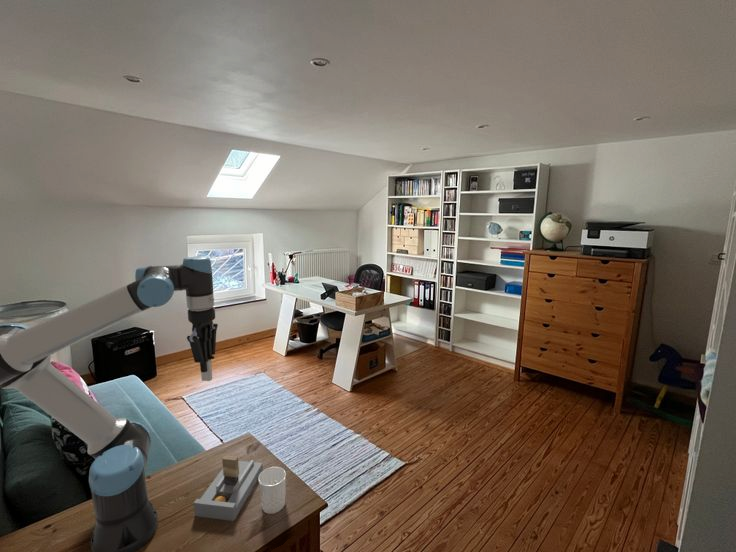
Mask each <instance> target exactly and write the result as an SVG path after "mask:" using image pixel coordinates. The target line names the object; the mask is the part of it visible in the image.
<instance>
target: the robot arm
mask: <svg viewBox="0 0 736 552" xmlns="http://www.w3.org/2000/svg"><path fill="white" fill-rule="evenodd" d="M212 269H213V268H212V262H211V259H210V258H209V257H208V256H201V255H200V256H198V255H197V256H188V257H185V258H183V259H182V264H176V265H160V266H159V265H155V266H154V265H153V266H152V265H148V266H143V267H137V268H136V270H135V275H134V276H135V277H134V278H135V279H134V280H135V281H133V282H131V283H128V284H126V285H124V286H121V287H120V288H119V287H118V288H117V289H115V290H113V291H111V292H109V293H106V294H103V295H102V296H98V297H97V298H94V299H93V300H91V301H88V302H86V303H83V304H80V305H79V306H77V307H74V308H72V309H70V310H67V311H66V312H63V313H60V314H58V315H56V316H54V317H51V318H49V319H47V320H45V321H43V322H41V323H38V324H35V325H34V326H31V327H30V326H28V325H27V324H22V323H17V322H16V323H15V322H11V323H10V322H8V323H1V324H0V388H1V389H3V390H7V389H15V390H16V391H18V392H19V393H20V394H21V395H23V396H24V397H25V398H27V399H28V400H30V401H31V402H32V403H34V404H35V405H36V406H37V407H39V408H40V409H41V410H43V411H44V412H45V413H46V414H48V415H50V417H52V418H53V419H54V420H56V422H58V423H60V424H61V425H62V426H63V427H64V428H66V429H67V430H69V431H70V432H71V433H72V434H74V435H75V436H76V437H78V438H79V439H80V440H81V441H83V442H84V443H85V444H87V454H88V455H89V456H91V457H92V458H94V460H93V462H92V463H91V465H90V467H89V473H88V484H89V488H90V493H91V499H92V503H93V511H94V516H95V523H94V527H93V531H92V535H91V538H90V548H91V552H136V551H138V550H139V549H140V548H142V547H143V546H144V545H146V544H147V543H148V542H149V541H150V539H151V538H152V537H154V534H155V533H156V531H157V529H158V526H159V518H158V512H157V510H156V509H155V508H154V506H153V504H152V503H151V501H150V500H149V497H148V489H147V482H146V481H147V480H146V471H147V465H148V459H149V455H150V449H151V442H152V441H151V434H150V430H149V429H148V428H147V426H146V425H145V424H143V423H142V422H139V421H130V420H128V418H126V417H118V418H116V417H115V416H114V415H113V414H112V413H110V412H109V411H108V410H107V409H106V408H104V407H103V406H102V405H101V404H100V403H98V402H97V401H96V400H95V399H94V398H93V397H91V396H90V395H89V394H87V392H85V391H84V390H83V389H82V388H81V387H80V386H78V385H77V384H76V383H75V382H73V381H72V380H71V379H70V378H69V377H68V376H67V375H65V374H64V373H63V372H62V371H60V370H59V369H58V368H56V367H55V365H53V364H52V362H51V359H52V355H53V354H55V353H59V352H60V351H62V350H64V349H66V348H68V347H70V346H72V345H74V344H77V343H78V342H81V341H83V340H85V339H87V338H89V337H91V336H93V335H96V334H98V333H100V332H102V331H104V330H106V329H109V328H110V327H112V326H115V325H117V324H119V323H121V322H123V321H125V320H127V319H129V318H131V317H133V316H135V315H137V314H140V313H142V312H144V311H146V310H149V309H151V308H158V307H162V306H164V305H166V304H167V303H168V302H169V301H170V300H171V299H172V297H173V295H174V293H175V292H179V291H181V292H182V291H185V297H186V299H185V300H186V308H187V319H188V322H189V323H191V325H192V327H191V334H190V335H187V337H186V340H187V342H189V345H190V346H189V347H190V348H191V349H190V350H191V353H192V356H193V360H194V363H198V364H199V366H200V373H201V374H200V376H201V381H204V382H211V381H212V380H213V369H212V360H214V359H215V356H214V355H215V354H216V347H217V346H216V343H217V330H218V326H219V325H218V323H215V322H214V320H215V318H216V308H215V307H214V306H215V297H214V284H213V283H214V281H213V280H214V279H213V270H212Z"/></svg>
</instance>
